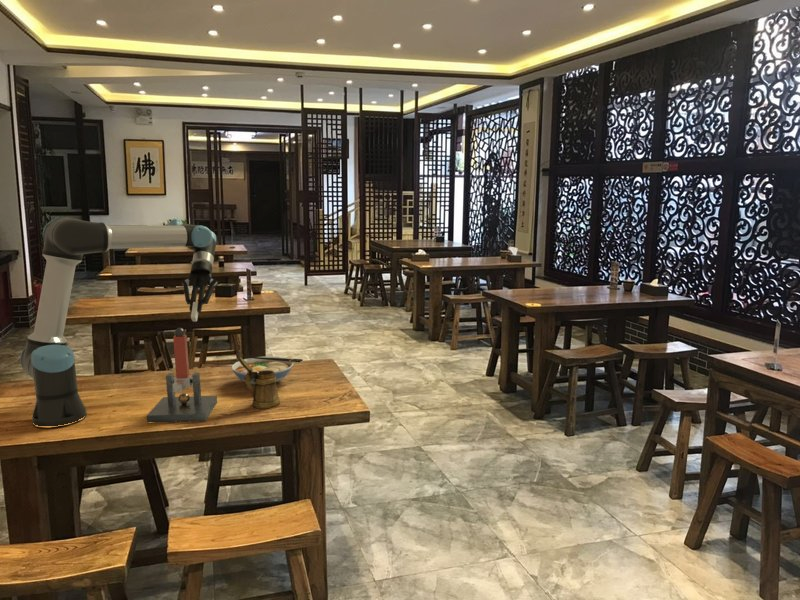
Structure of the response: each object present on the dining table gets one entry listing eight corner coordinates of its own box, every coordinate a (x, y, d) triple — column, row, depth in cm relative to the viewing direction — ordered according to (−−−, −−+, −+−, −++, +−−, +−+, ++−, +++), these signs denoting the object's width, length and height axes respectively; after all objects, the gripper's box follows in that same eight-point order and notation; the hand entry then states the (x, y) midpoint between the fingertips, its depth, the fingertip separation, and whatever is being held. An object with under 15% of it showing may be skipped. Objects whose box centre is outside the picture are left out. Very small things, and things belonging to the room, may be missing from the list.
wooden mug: (239, 402, 211) (236, 351, 208) (279, 398, 215) (276, 348, 211) (239, 411, 203) (236, 358, 200) (281, 407, 206) (278, 355, 203)
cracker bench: (147, 423, 193) (143, 385, 191) (163, 404, 210) (160, 369, 208) (205, 421, 195) (202, 383, 192) (217, 402, 211) (215, 367, 209)
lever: (168, 392, 196) (163, 333, 192) (175, 384, 204) (171, 327, 200) (187, 392, 196) (182, 332, 193) (194, 383, 204) (189, 326, 201)
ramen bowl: (217, 390, 224) (216, 368, 223) (250, 371, 246) (249, 352, 244) (279, 396, 217) (278, 374, 215) (307, 377, 238) (306, 356, 237)
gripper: (221, 272, 234) (214, 324, 220) (186, 272, 233) (177, 325, 219) (217, 259, 227) (210, 313, 214) (181, 260, 226) (172, 314, 213)
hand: (193, 319), depth 217 cm, fingers closed
